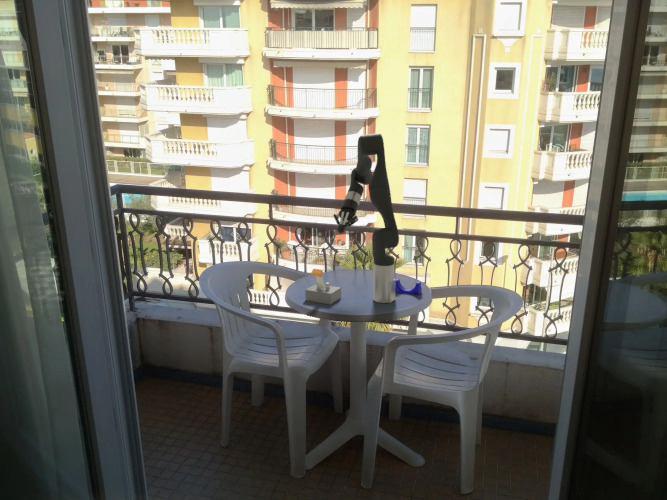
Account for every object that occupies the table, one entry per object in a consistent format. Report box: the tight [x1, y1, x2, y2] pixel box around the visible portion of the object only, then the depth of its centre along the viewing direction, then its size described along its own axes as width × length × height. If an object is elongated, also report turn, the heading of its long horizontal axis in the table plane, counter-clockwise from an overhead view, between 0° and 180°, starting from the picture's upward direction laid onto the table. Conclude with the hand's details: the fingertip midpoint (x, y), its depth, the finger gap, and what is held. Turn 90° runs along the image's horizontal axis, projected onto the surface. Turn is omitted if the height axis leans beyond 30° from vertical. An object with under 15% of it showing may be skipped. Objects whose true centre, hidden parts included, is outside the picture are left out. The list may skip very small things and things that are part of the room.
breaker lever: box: [311, 268, 325, 289], centre depth 265 cm, size 4×2×10 cm
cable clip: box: [395, 278, 423, 296], centre depth 279 cm, size 12×4×6 cm, turn 65°
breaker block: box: [304, 281, 342, 305], centre depth 269 cm, size 13×10×8 cm
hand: (340, 232), depth 278 cm, fingers closed
